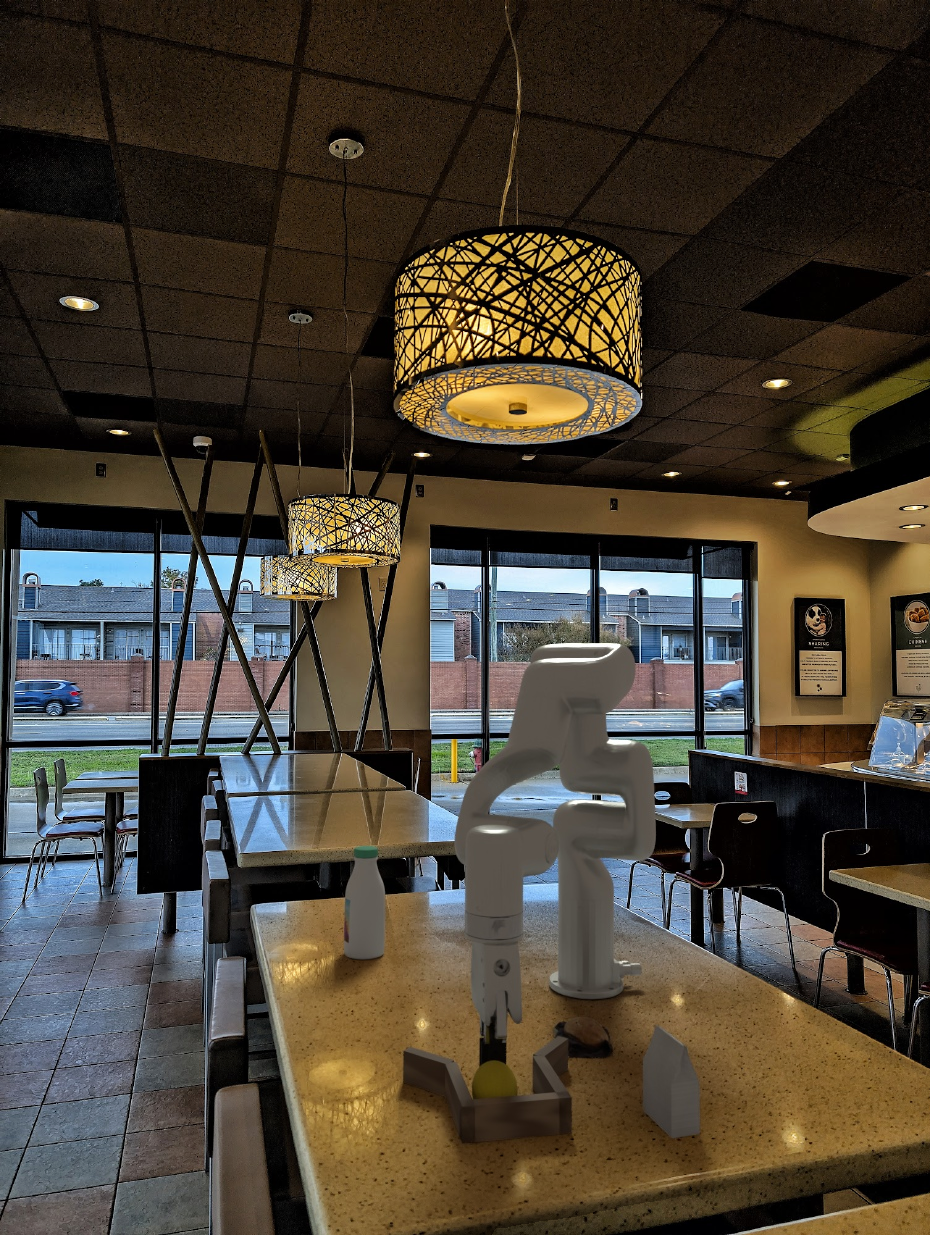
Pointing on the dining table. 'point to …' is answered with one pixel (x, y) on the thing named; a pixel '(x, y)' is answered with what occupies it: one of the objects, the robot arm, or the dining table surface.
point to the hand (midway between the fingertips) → (492, 1071)
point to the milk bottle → (364, 907)
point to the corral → (498, 1114)
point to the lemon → (494, 1081)
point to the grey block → (670, 1086)
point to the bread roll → (585, 1038)
